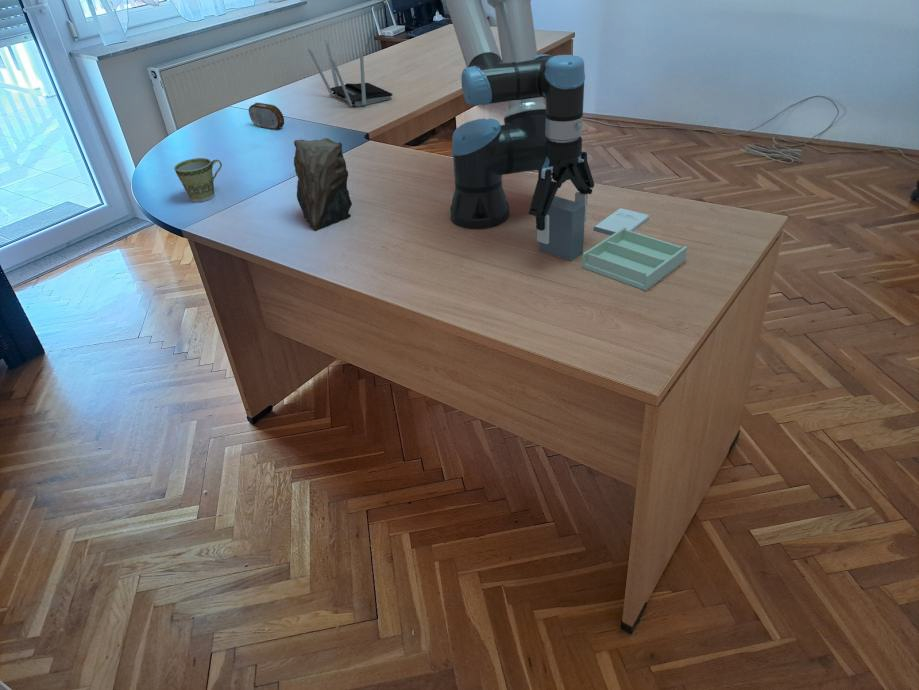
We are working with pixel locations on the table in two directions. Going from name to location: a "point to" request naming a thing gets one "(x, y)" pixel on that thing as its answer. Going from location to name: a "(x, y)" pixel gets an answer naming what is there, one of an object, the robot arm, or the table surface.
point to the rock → (321, 182)
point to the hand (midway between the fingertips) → (562, 231)
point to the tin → (266, 116)
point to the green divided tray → (634, 258)
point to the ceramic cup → (197, 178)
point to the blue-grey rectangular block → (565, 229)
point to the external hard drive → (621, 221)
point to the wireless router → (352, 86)
